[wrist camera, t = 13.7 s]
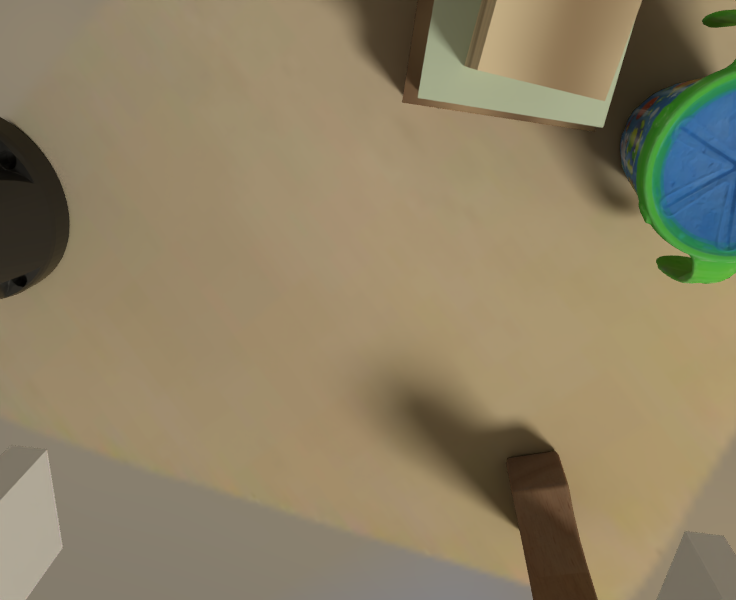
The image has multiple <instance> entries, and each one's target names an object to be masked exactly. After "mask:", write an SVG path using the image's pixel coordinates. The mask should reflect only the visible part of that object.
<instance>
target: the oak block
mask: <svg viewBox="0 0 736 600" xmlns="http://www.w3.org/2000/svg"><path fill="white" fill-rule="evenodd" d="M641 2H642V0H482V1H481V5H480V9H479V12H478V16H477V20H476V24H475V27H474V31H473V35H472V38H471V42H470V46H469V49H468V53H467V57H466V61H465V64H464V66H465V67H468V68H472V69H475V70H479V71H483V72H487V73H491V74H495V75H499V76H503V77H507V78H512V79H516V80H520V81H524V82H528V83H532V84H536V85H540V86H544V87H548V88H552V89H557V90H561V91H565V92H569V93H573V94H577V95H581V96H585V97H589V98H593V99H597V100H602V101H605V100H606V97H607V94H608V92H609V89H610V86H611V84H612V81H613V78H614V75H615V73H616V70H617V67H618V65H619V62H620V59H621V56H622V54H623V51H624V48H625V46H626V43H627V40H628V38H629V35H630V32H631V29H632V27H633V24H634V21H635V19H636V16H637V13H638V10H639V8H640V5H641Z"/></svg>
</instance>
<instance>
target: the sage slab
mask: <svg viewBox="0 0 736 600" xmlns="http://www.w3.org/2000/svg"><path fill="white" fill-rule="evenodd" d="M481 1H482V0H434V4H433V10H432V16H431V22H430V28H429V34H428V39H427V45H426V51H425V57H424V63H423V69H422V75H421V81H420V86H419V92H418V98H422V99H428V100H434V101H440V102H447V103H453V104H459V105H465V106H471V107H478V108H484V109H490V110H496V111H502V112H509V113H515V114H521V115H527V116H533V117H540V118H546V119H552V120H558V121H564V122H571V123H577V124H583V125H589V126H595V127H602V128H603V126H604V123H605V119H606V116H607V113H608V109H609V106H610V103H611V99H612V96H613V93H614V89H615V86H616V83H617V79H618V76H619V73H620V69H621V66H622V62H623V59H624V56H625V52H626V49H627V46H628V42H629V39H630V36H631V32H632V29H633V27H632V29H631V32H630V35H629V38H628V40H627V43H626V46H625V48H624V51H623V54H622V56H621V59H620V62H619V65H618V67H617V70H616V73H615V75H614V78H613V81H612V84H611V86H610V89H609V92H608V94H607V97H606V100H605V101H602V100H597V99H593V98H589V97H585V96H581V95H577V94H573V93H569V92H565V91H561V90H557V89H552V88H548V87H544V86H540V85H536V84H532V83H528V82H524V81H520V80H516V79H512V78H507V77H503V76H499V75H495V74H491V73H487V72H483V71H479V70H475V69H472V68H468V67H465V66H464V64H465V61H466V57H467V53H468V49H469V46H470V42H471V38H472V35H473V31H474V27H475V24H476V20H477V16H478V12H479V9H480V5H481ZM634 22H635V21H634ZM633 26H634V24H633Z"/></svg>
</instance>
